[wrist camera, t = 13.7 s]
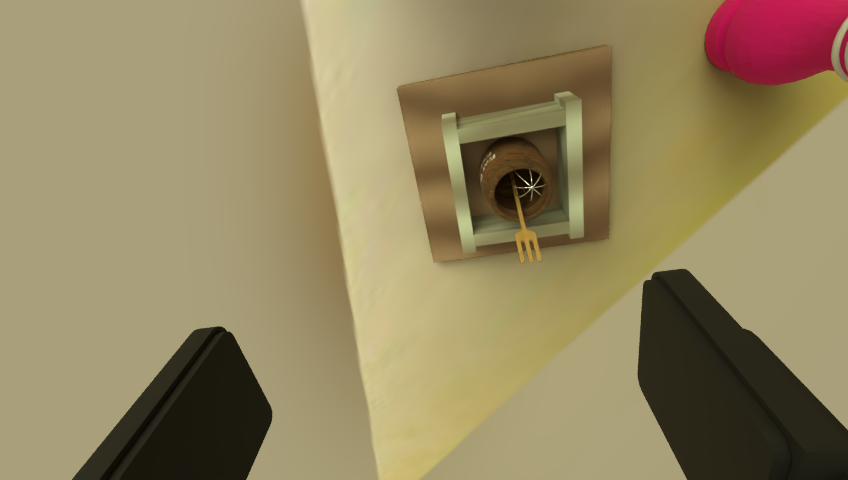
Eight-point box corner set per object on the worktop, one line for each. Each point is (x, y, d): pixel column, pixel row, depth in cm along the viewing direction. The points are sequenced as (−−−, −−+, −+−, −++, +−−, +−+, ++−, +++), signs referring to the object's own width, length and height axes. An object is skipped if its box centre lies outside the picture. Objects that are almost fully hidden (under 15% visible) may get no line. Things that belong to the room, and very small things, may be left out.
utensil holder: (542, 131, 37) (579, 176, 27) (541, 196, 40) (573, 259, 30) (476, 137, 38) (486, 184, 27) (479, 201, 41) (490, 265, 30)
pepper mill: (807, -27, 32) (1244, -80, 14) (778, 73, 35) (1103, 129, 18) (708, -17, 33) (1010, -55, 15) (689, 80, 36) (917, 142, 18)
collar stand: (398, 86, 38) (391, 96, 33) (605, 44, 35) (630, 49, 30) (434, 255, 46) (432, 283, 41) (603, 231, 43) (623, 258, 38)
